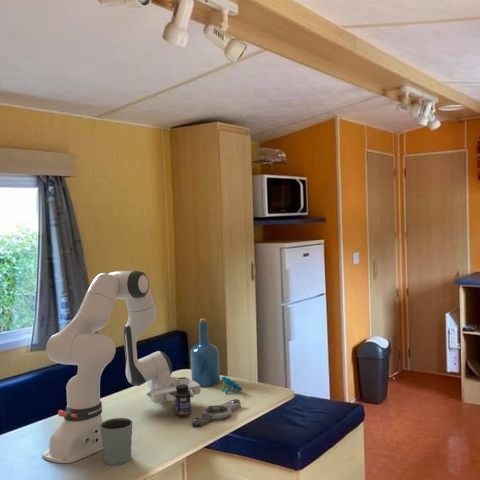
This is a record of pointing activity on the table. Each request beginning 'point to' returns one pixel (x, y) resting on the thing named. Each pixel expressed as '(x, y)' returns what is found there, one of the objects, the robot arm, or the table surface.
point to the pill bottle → (182, 400)
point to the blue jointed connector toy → (230, 384)
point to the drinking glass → (116, 440)
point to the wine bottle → (205, 359)
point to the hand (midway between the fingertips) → (183, 397)
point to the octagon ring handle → (209, 418)
